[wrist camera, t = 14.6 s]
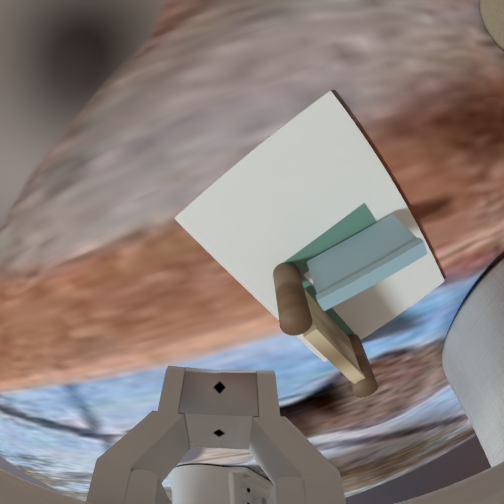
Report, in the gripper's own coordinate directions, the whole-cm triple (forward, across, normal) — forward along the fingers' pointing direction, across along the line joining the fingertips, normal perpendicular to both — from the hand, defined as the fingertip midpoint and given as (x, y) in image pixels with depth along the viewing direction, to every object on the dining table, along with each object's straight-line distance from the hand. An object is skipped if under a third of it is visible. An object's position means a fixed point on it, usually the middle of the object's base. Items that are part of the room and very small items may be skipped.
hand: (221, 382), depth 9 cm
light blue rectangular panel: (+16, -10, +3) cm, 19 cm away
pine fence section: (+17, -8, +10) cm, 22 cm away
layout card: (+17, -8, +4) cm, 19 cm away
